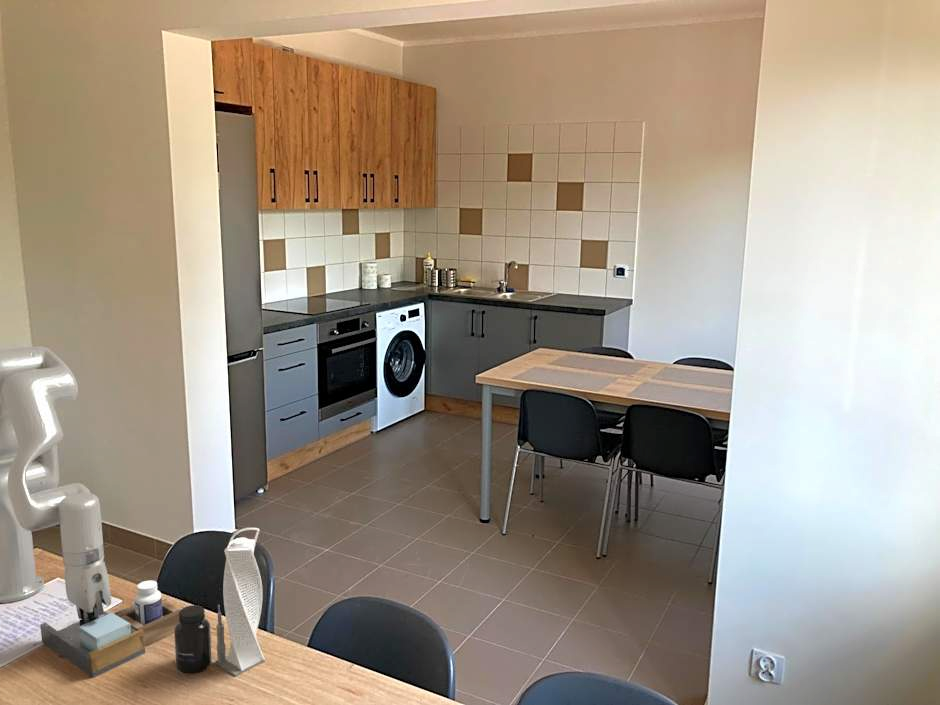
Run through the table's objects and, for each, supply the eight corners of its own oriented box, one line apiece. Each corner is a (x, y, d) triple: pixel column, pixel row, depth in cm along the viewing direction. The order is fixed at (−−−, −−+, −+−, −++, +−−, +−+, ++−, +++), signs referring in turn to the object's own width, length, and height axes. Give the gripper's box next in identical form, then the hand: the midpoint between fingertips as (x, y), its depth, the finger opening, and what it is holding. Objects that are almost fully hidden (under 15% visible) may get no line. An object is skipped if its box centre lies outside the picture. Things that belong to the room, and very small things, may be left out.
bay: (42, 641, 163) (39, 620, 162) (92, 620, 172) (91, 599, 171) (93, 677, 151) (91, 654, 150) (145, 652, 159) (143, 630, 158)
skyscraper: (251, 645, 162) (245, 520, 157) (274, 660, 157) (269, 531, 152) (215, 663, 156) (208, 533, 151) (238, 678, 151) (231, 545, 146)
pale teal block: (80, 653, 157) (77, 626, 156) (114, 638, 163) (112, 612, 162) (98, 666, 153) (96, 638, 152) (132, 650, 158) (130, 623, 157)
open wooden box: (106, 626, 169) (105, 609, 168) (148, 608, 177) (147, 592, 176) (142, 648, 161) (140, 630, 160) (184, 628, 169) (183, 611, 168)
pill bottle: (167, 620, 170) (165, 579, 168) (155, 633, 165) (152, 591, 163) (144, 618, 171) (141, 577, 169) (131, 631, 165) (128, 589, 164)
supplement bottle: (178, 679, 151) (175, 622, 148) (174, 661, 156) (170, 606, 154) (214, 669, 154) (211, 614, 151) (209, 652, 160) (206, 599, 157)
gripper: (120, 557, 156) (126, 640, 160) (83, 538, 165) (89, 617, 168) (83, 571, 150) (91, 656, 154) (47, 550, 159) (54, 631, 162)
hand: (90, 635), depth 161 cm, fingers closed
